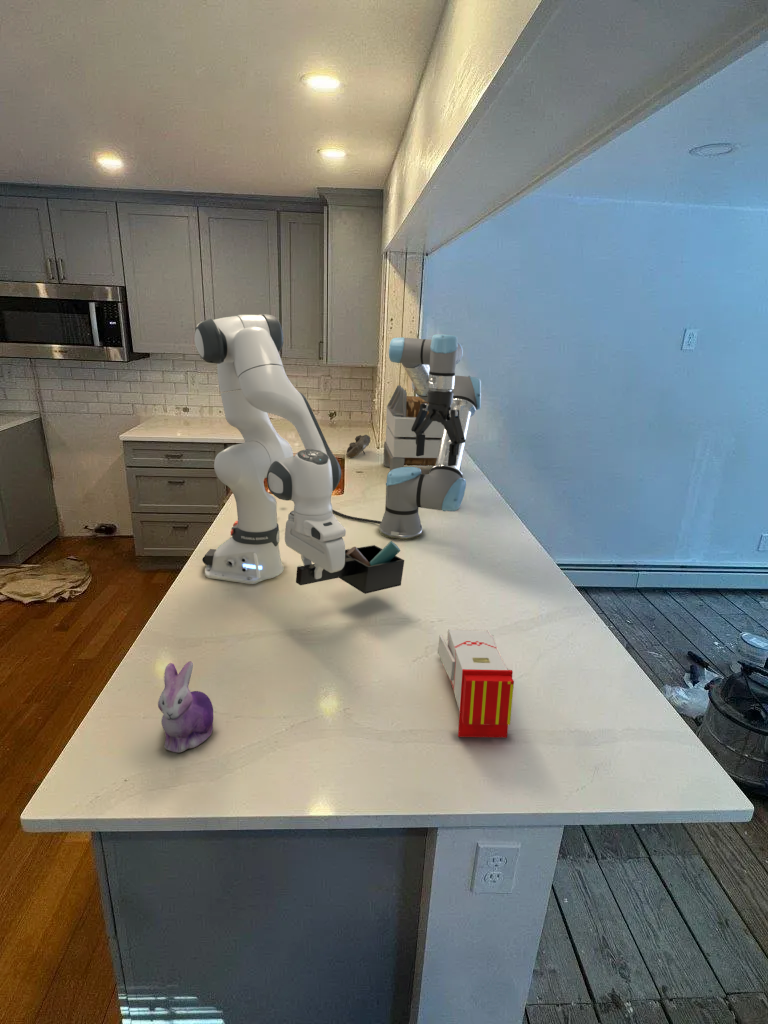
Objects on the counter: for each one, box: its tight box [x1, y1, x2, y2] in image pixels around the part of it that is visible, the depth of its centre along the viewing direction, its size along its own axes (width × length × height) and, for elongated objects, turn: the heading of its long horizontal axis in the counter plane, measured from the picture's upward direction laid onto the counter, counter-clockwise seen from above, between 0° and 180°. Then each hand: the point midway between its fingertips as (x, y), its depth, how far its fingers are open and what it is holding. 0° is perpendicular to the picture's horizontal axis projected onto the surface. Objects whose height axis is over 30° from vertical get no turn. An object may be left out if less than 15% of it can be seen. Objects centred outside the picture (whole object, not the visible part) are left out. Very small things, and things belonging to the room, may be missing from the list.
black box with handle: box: [295, 544, 405, 595], centre depth 142 cm, size 12×28×7 cm, turn 131°
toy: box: [437, 628, 515, 738], centre depth 117 cm, size 12×13×30 cm
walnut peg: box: [346, 546, 371, 566], centre depth 147 cm, size 4×4×8 cm
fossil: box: [345, 434, 371, 459], centre depth 304 cm, size 22×10×15 cm
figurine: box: [157, 660, 214, 753], centre depth 100 cm, size 9×10×15 cm
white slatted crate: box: [383, 384, 463, 472], centre depth 268 cm, size 34×33×41 cm
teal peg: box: [369, 540, 401, 566], centre depth 147 cm, size 4×4×8 cm
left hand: (313, 575), depth 135 cm, fingers closed on black box with handle
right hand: (435, 460), depth 173 cm, fingers open, 13 cm apart
